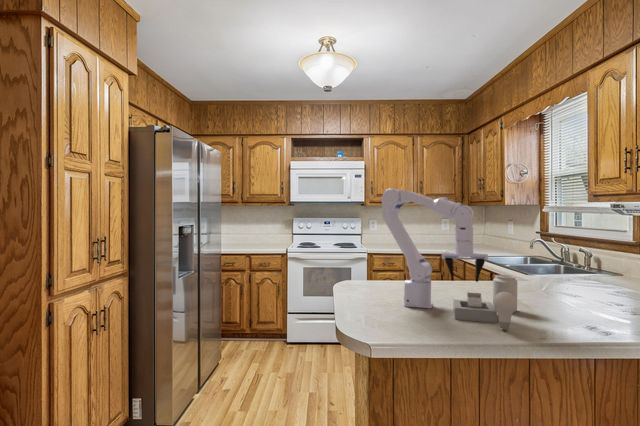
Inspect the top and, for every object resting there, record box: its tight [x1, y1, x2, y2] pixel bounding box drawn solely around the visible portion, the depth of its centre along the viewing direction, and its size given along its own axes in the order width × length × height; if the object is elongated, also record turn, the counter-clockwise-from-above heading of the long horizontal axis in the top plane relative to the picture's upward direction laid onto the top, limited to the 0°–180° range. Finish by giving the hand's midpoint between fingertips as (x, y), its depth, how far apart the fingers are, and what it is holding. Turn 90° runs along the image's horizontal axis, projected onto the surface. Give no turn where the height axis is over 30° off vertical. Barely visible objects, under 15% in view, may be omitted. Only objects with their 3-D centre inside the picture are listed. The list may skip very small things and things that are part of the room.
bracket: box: [466, 291, 483, 309], centre depth 119 cm, size 4×5×7 cm
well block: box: [452, 298, 498, 324], centre depth 119 cm, size 12×12×4 cm
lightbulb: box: [492, 292, 518, 332], centre depth 105 cm, size 6×6×11 cm
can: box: [492, 274, 518, 313], centre depth 126 cm, size 8×8×12 cm
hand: (464, 280), depth 124 cm, fingers open, 7 cm apart
